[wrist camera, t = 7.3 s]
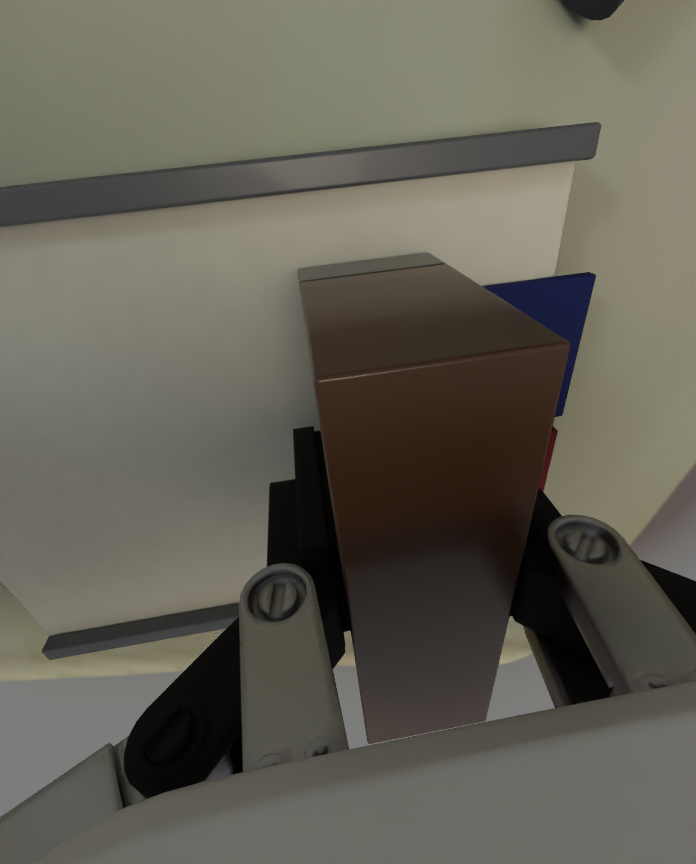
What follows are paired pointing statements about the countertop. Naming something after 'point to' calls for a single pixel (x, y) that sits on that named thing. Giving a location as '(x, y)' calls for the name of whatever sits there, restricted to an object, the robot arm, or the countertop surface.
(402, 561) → the eraser
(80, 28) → the countertop surface
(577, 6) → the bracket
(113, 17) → the countertop surface
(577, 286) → the smudge navy
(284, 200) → the memo board
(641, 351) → the countertop surface
